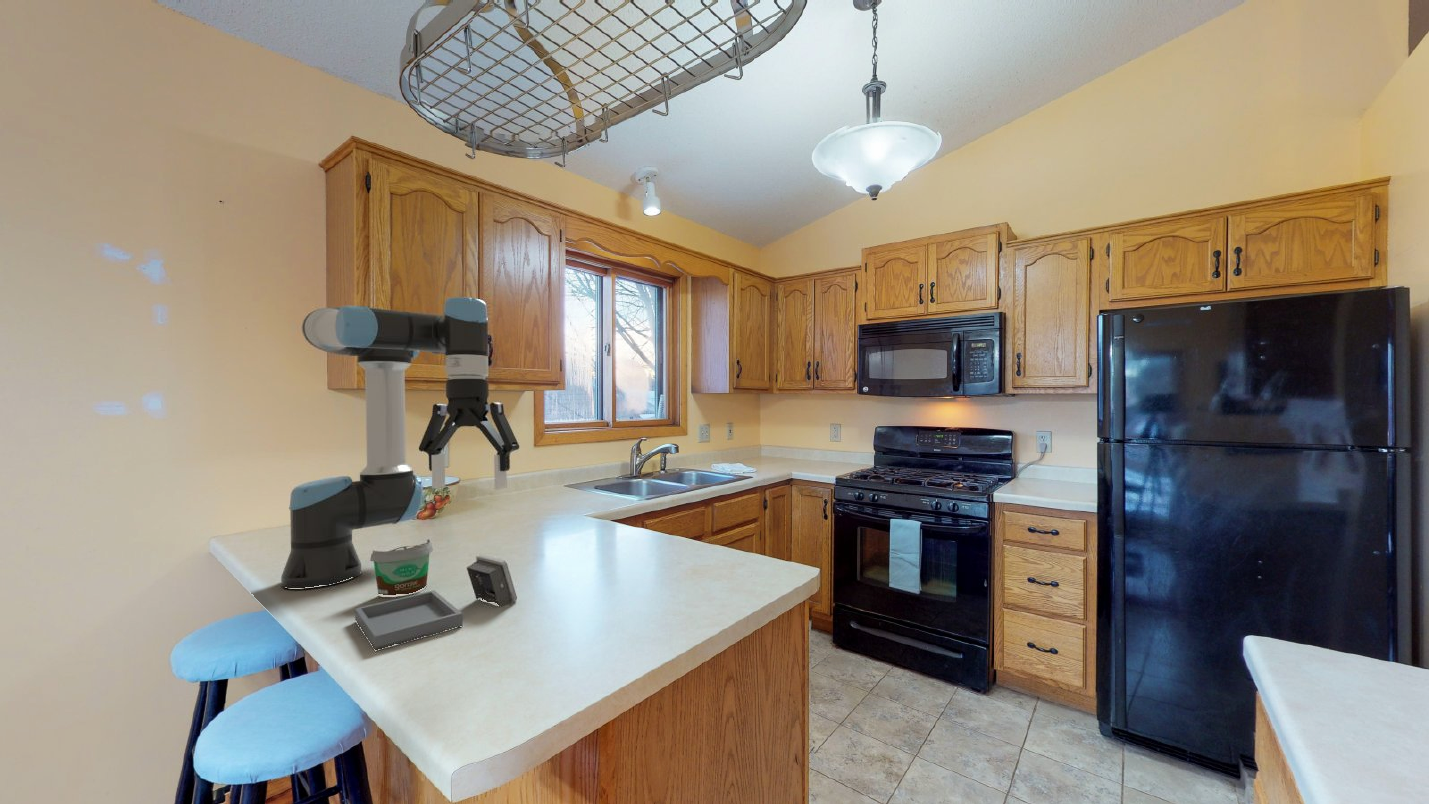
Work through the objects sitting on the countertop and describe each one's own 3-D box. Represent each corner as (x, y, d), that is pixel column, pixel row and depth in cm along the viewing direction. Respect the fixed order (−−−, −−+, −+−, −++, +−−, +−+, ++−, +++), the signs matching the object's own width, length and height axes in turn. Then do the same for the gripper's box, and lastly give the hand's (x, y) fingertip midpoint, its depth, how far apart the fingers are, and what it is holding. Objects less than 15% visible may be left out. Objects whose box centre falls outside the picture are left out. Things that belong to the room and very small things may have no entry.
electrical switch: (518, 602, 108) (513, 558, 108) (496, 613, 104) (491, 567, 103) (490, 593, 113) (485, 551, 113) (468, 604, 109) (463, 560, 108)
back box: (355, 621, 99) (355, 608, 99) (434, 602, 109) (434, 590, 109) (375, 651, 87) (374, 636, 87) (462, 626, 96) (462, 613, 96)
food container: (382, 604, 108) (382, 555, 108) (370, 598, 112) (369, 550, 112) (443, 587, 118) (443, 542, 118) (430, 582, 122) (430, 538, 122)
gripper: (397, 379, 102) (398, 490, 101) (514, 375, 97) (516, 491, 96) (425, 381, 109) (427, 484, 109) (536, 377, 104) (538, 485, 104)
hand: (469, 488), depth 103 cm, fingers open, 13 cm apart
